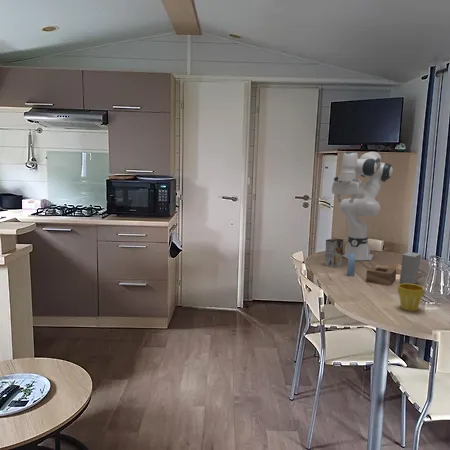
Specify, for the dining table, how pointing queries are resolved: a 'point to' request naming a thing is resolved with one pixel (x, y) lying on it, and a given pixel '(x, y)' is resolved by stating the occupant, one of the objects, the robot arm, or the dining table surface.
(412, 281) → the skincare box
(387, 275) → the socket block
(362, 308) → the dining table surface
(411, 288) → the plant pot
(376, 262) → the dining table surface
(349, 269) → the pin
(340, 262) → the coffee box
